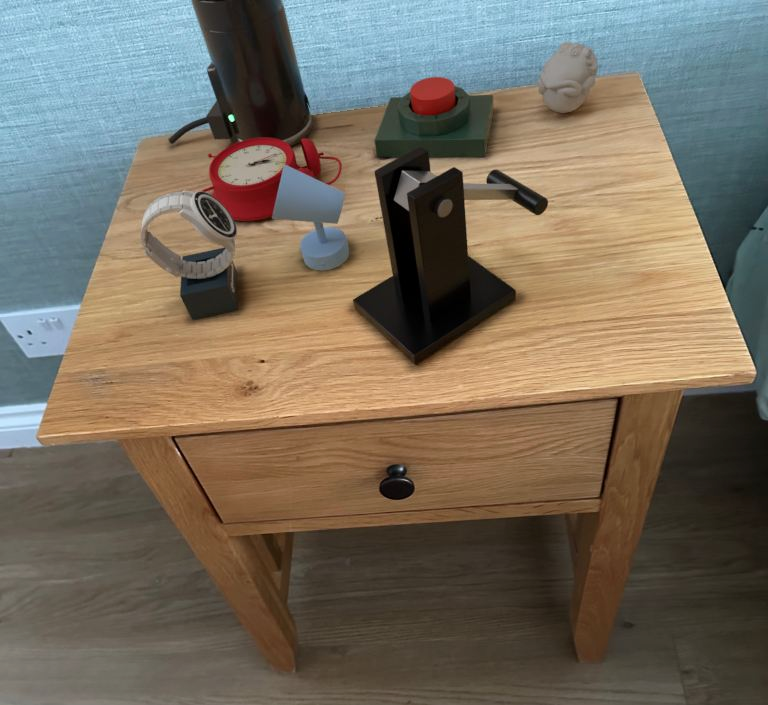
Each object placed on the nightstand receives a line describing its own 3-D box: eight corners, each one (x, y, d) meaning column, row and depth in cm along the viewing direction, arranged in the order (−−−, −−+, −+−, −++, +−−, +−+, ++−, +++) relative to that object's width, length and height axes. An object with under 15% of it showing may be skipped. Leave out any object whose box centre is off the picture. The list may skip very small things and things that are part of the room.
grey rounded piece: (606, 102, 78) (613, 41, 73) (568, 130, 76) (572, 69, 71) (562, 87, 82) (565, 28, 77) (524, 114, 79) (524, 55, 74)
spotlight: (284, 275, 66) (355, 269, 66) (255, 188, 59) (335, 180, 58) (290, 241, 70) (358, 235, 69) (263, 155, 62) (339, 147, 61)
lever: (494, 190, 62) (503, 164, 61) (542, 220, 58) (553, 193, 57) (378, 190, 54) (386, 160, 52) (426, 224, 50) (436, 193, 49)
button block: (377, 157, 78) (371, 125, 75) (392, 114, 83) (388, 82, 80) (485, 157, 75) (483, 123, 72) (493, 112, 80) (492, 79, 77)
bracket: (450, 251, 65) (438, 118, 55) (516, 299, 60) (516, 162, 50) (354, 308, 62) (323, 179, 52) (415, 365, 57) (393, 233, 46)
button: (408, 117, 75) (406, 100, 74) (416, 94, 78) (414, 77, 77) (452, 116, 74) (451, 99, 73) (458, 93, 77) (457, 75, 76)
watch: (258, 305, 64) (221, 209, 56) (173, 323, 64) (123, 230, 56) (256, 266, 68) (221, 171, 60) (176, 283, 68) (129, 190, 60)
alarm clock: (205, 142, 78) (327, 101, 73) (234, 187, 82) (350, 151, 77) (182, 199, 71) (315, 158, 66) (214, 244, 75) (341, 209, 71)
